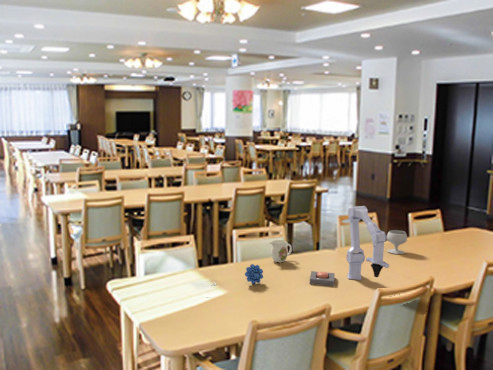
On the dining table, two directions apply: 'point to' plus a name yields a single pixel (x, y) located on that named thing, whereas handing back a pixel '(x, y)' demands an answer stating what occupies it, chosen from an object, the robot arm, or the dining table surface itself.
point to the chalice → (396, 240)
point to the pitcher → (280, 250)
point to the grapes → (254, 274)
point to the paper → (210, 295)
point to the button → (322, 275)
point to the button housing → (322, 279)
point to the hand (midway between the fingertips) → (376, 276)
